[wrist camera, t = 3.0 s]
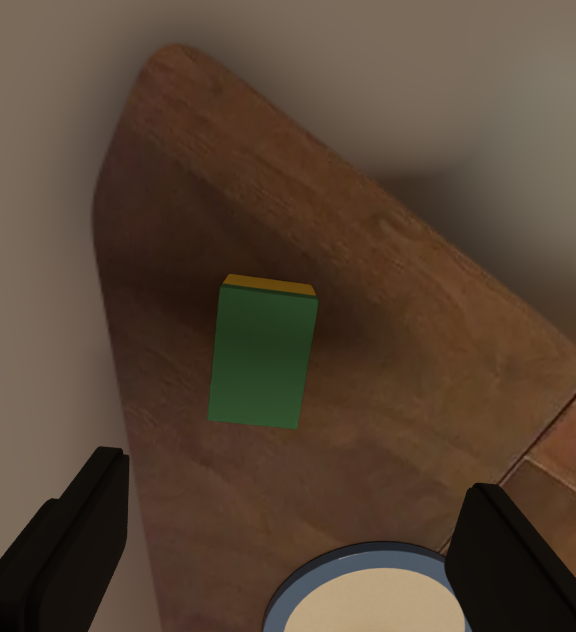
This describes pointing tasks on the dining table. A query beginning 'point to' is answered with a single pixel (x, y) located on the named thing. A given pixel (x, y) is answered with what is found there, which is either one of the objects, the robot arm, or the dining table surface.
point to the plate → (368, 593)
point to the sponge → (261, 351)
